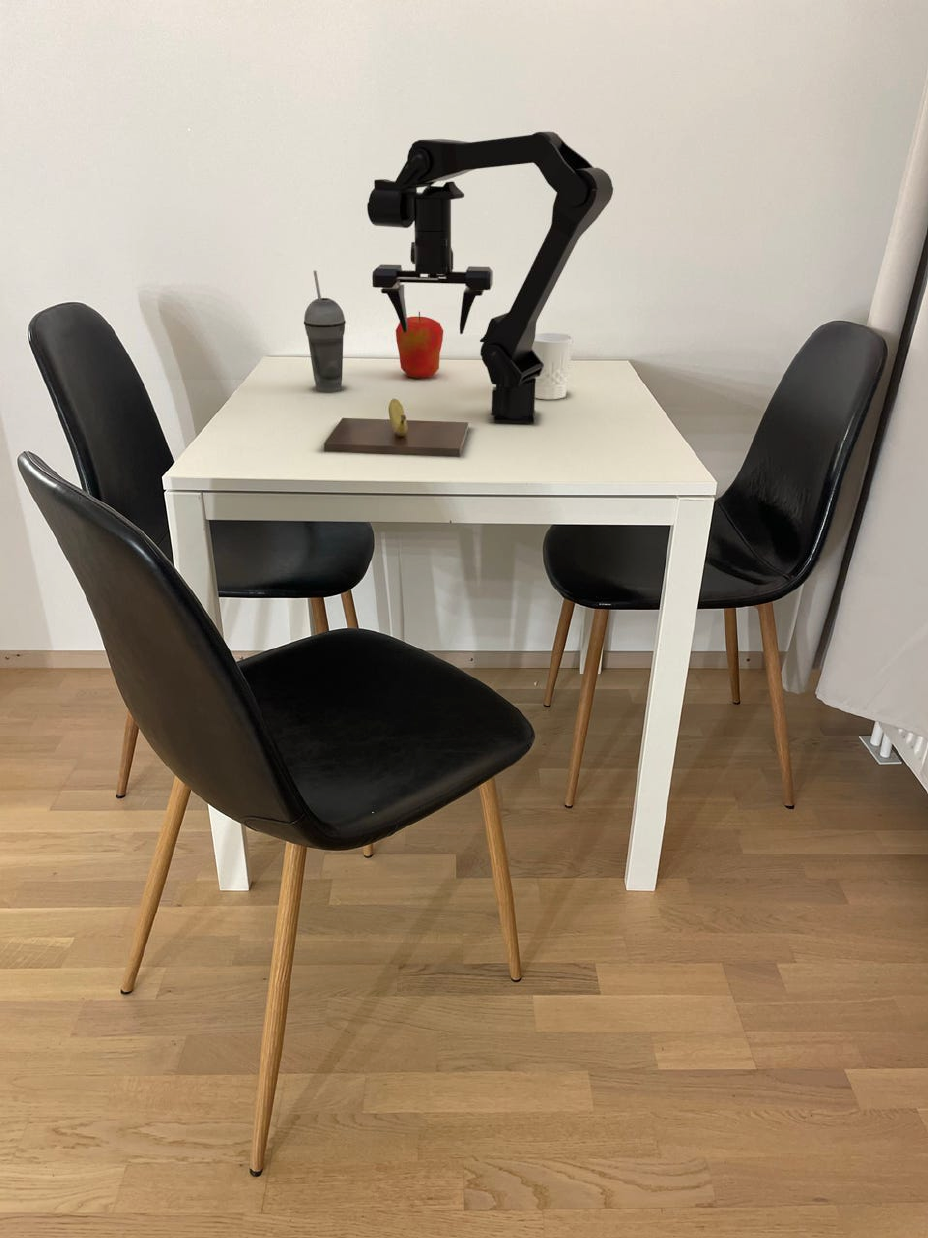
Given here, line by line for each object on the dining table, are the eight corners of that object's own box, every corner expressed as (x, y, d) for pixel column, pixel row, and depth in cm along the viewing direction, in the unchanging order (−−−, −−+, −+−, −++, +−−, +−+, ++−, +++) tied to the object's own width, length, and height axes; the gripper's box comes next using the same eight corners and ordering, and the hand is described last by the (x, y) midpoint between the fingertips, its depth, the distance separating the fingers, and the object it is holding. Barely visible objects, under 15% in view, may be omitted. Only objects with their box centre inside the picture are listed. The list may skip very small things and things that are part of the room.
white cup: (518, 397, 161) (520, 339, 156) (532, 386, 168) (535, 330, 163) (561, 402, 159) (565, 343, 154) (574, 391, 165) (578, 334, 160)
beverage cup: (342, 395, 162) (335, 274, 152) (302, 392, 163) (293, 273, 153) (354, 384, 168) (348, 268, 158) (316, 382, 169) (308, 266, 159)
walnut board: (468, 429, 145) (468, 422, 144) (459, 456, 134) (460, 448, 133) (342, 424, 146) (342, 417, 146) (324, 451, 135) (323, 443, 135)
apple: (388, 377, 173) (386, 312, 167) (413, 368, 179) (412, 305, 173) (426, 384, 169) (425, 317, 163) (451, 374, 175) (451, 310, 169)
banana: (387, 422, 144) (386, 397, 142) (402, 421, 144) (402, 396, 142) (395, 442, 135) (394, 415, 133) (411, 441, 135) (411, 415, 133)
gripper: (495, 225, 150) (493, 324, 157) (382, 223, 151) (385, 321, 159) (491, 233, 140) (489, 338, 148) (369, 230, 141) (373, 335, 149)
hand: (433, 332), depth 151 cm, fingers open, 9 cm apart
